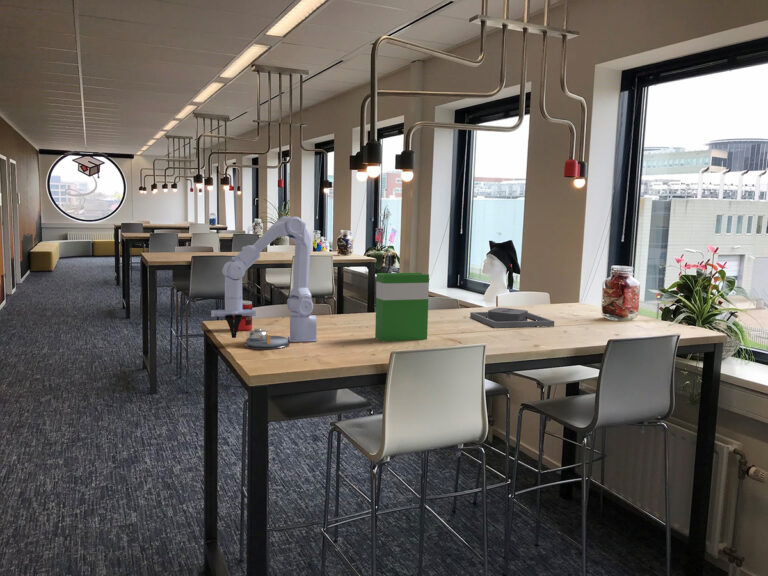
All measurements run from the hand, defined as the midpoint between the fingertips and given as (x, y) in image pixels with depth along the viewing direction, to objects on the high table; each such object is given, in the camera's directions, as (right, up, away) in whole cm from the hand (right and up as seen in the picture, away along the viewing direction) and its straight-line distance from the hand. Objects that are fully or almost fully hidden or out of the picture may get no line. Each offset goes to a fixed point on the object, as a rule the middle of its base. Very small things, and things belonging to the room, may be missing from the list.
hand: (233, 337), depth 210 cm
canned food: (-4, 0, +30) cm, 30 cm away
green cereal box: (+57, -2, +20) cm, 60 cm away
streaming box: (+105, +1, +63) cm, 122 cm away
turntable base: (+11, -3, +3) cm, 11 cm away
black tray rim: (+106, +2, +63) cm, 123 cm away
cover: (+8, -1, +2) cm, 8 cm away
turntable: (+11, -3, +3) cm, 11 cm away
